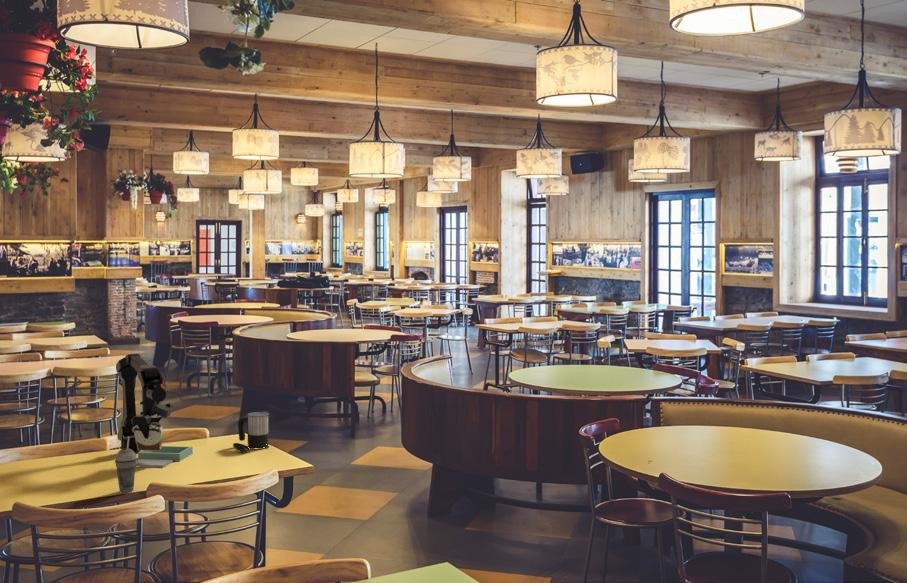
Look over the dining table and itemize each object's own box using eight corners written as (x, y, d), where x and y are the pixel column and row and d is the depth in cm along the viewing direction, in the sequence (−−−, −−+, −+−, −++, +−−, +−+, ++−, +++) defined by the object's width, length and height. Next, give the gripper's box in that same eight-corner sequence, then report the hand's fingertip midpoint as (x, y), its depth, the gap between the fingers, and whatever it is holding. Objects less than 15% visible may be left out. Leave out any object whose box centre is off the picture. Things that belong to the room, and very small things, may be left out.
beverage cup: (119, 488, 293) (118, 434, 292) (140, 488, 294) (138, 433, 293) (112, 494, 286) (111, 438, 285) (133, 494, 286) (132, 438, 285)
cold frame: (138, 459, 334) (138, 452, 333) (152, 452, 345) (152, 445, 345) (179, 461, 331) (179, 453, 331) (192, 453, 343) (192, 446, 343)
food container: (170, 444, 330) (168, 421, 327) (163, 451, 324) (160, 428, 321) (142, 443, 331) (139, 420, 329) (134, 450, 325) (131, 427, 323)
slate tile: (129, 466, 323) (129, 464, 323) (139, 461, 331) (139, 459, 331) (163, 467, 321) (163, 465, 321) (172, 462, 329) (172, 460, 329)
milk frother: (271, 444, 359) (270, 411, 358) (265, 453, 343) (264, 418, 342) (238, 445, 358) (238, 412, 357) (230, 454, 342) (230, 419, 342)
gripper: (157, 403, 314) (158, 443, 315) (179, 394, 333) (180, 432, 334) (130, 402, 316) (131, 442, 317) (153, 394, 334) (154, 431, 335)
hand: (150, 436), depth 326 cm, fingers closed on food container, 6 cm apart
